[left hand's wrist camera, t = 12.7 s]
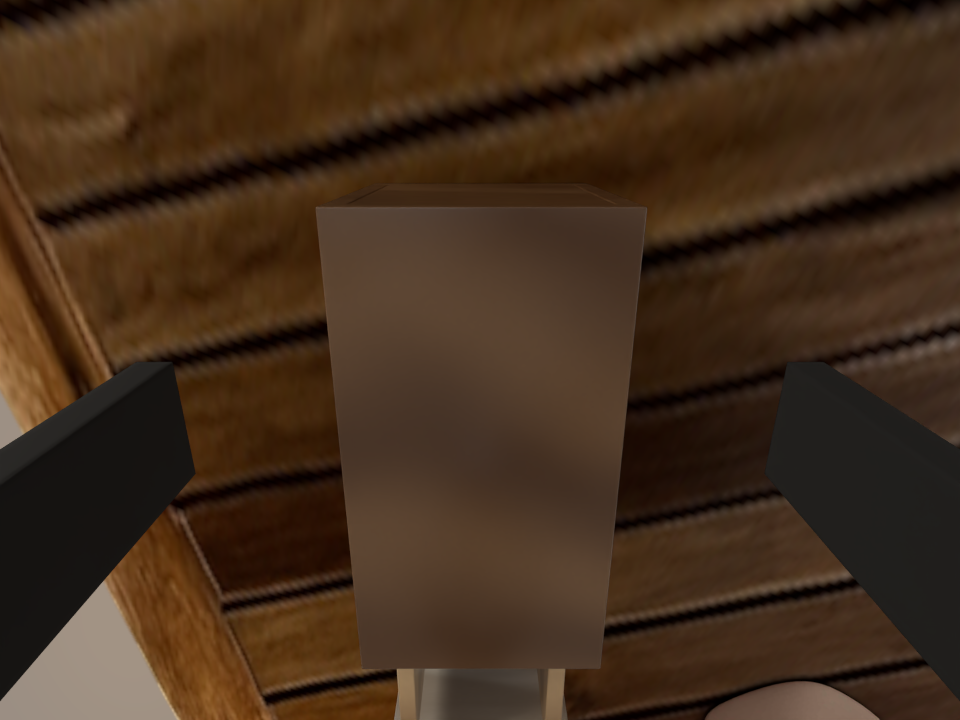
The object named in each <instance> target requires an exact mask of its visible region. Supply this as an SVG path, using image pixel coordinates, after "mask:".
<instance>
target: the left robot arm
mask: <svg viewBox="0 0 960 720" xmlns="http://www.w3.org/2000/svg"><path fill="white" fill-rule="evenodd" d="M194 475H195V469H194V464H193V459H192V454H191V449H190V445H189V440H188V435H187V430H186V425H185V420H184V416H183V411H182V406H181V401H180V396H179V391H178V387H177V382H176V377H175V372H174V367H173V362H136V363H134V364H133V365H131V366H130V367H128V368H127V369H125V370H123V371H122V372H120V373H119V374H117V375H116V376H114V377H113V378H111V379H109V380H108V381H106V382H105V383H103V384H102V385H100V386H98V387H97V388H95V389H94V390H92V391H91V392H89V393H88V394H86V395H84V396H83V397H81V398H80V399H78V400H77V401H75V402H73V403H72V404H70V405H69V406H67V407H66V408H64V409H62V410H61V411H59V412H58V413H56V414H55V415H53V416H52V417H50V418H48V419H47V420H45V421H44V422H42V423H41V424H39V425H37V426H36V427H34V428H33V429H31V430H30V431H28V432H27V433H25V434H23V435H22V436H20V437H19V438H17V439H16V440H14V441H12V442H11V443H9V444H8V445H6V446H5V447H3V448H2V449H0V701H1V699H2V698H3V697H4V696H5V695H6V694H7V692H8V691H9V690H10V689H11V688H12V687H13V685H14V684H15V683H16V682H17V681H18V680H19V679H20V677H21V676H22V675H23V674H24V673H25V672H26V670H27V669H28V668H29V667H30V666H31V665H32V663H33V662H34V661H35V660H36V659H37V658H38V656H39V655H40V654H41V653H42V652H43V651H44V649H45V648H46V647H47V646H48V645H49V644H50V642H51V641H52V640H53V639H54V638H55V637H56V635H57V634H58V633H59V632H60V631H61V630H62V628H63V627H64V626H65V625H66V624H67V623H68V621H69V620H70V619H71V618H72V617H73V616H74V614H75V613H76V612H77V611H78V610H79V609H80V607H81V606H82V605H83V604H84V603H85V602H86V601H87V599H88V598H89V597H90V596H91V595H92V594H93V592H94V591H95V590H96V589H97V588H98V587H99V585H100V584H101V583H102V582H103V581H104V580H105V578H106V577H107V576H108V575H109V574H110V573H111V571H112V570H113V569H114V568H115V567H116V566H117V564H118V563H119V562H120V561H121V560H122V559H123V557H124V556H125V555H126V554H127V553H128V552H129V550H130V549H131V548H132V547H133V546H134V545H135V543H136V542H137V541H138V540H139V539H140V538H141V536H142V535H143V534H144V533H145V532H146V531H147V529H148V528H149V527H150V526H151V525H152V524H153V523H154V521H155V520H156V519H157V518H158V517H159V516H160V514H161V513H162V512H163V511H164V510H165V509H166V507H167V506H168V505H169V504H170V503H171V502H172V500H173V499H174V498H175V497H176V496H177V495H178V493H179V492H180V491H181V490H182V489H183V488H184V486H185V485H186V484H187V483H188V482H189V481H190V479H191V478H192V477H193V476H194ZM765 475H766V476H767V477H768V478H769V479H770V481H771V482H772V483H773V484H774V485H775V486H776V488H777V489H778V490H779V491H780V492H781V493H782V495H783V496H784V497H785V498H786V499H787V500H788V502H789V503H790V504H791V505H792V506H793V507H794V509H795V510H796V511H797V512H798V513H799V514H800V516H801V517H802V518H803V519H804V520H805V521H806V523H807V524H808V525H809V526H810V527H811V528H812V529H813V531H814V532H815V533H816V534H817V535H818V536H819V538H820V539H821V540H822V541H823V542H824V543H825V545H826V546H827V547H828V548H829V549H830V550H831V552H832V553H833V554H834V555H835V556H836V557H837V559H838V560H839V561H840V562H841V563H842V564H843V566H844V567H845V568H846V569H847V570H848V571H849V573H850V574H851V575H852V576H853V577H854V578H855V580H856V581H857V582H858V583H859V584H860V585H861V587H862V588H863V589H864V590H865V591H866V592H867V594H868V595H869V596H870V597H871V598H872V599H873V601H874V602H875V603H876V604H877V605H878V606H879V608H880V609H881V610H882V611H883V612H884V613H885V614H886V616H887V617H888V618H889V619H890V620H891V621H892V623H893V624H894V625H895V626H896V627H897V628H898V630H899V631H900V632H901V633H902V634H903V635H904V637H905V638H906V639H907V640H908V641H909V642H910V644H911V645H912V646H913V647H914V648H915V649H916V651H917V652H918V653H919V654H920V655H921V656H922V658H923V659H924V660H925V661H926V662H927V663H928V665H929V666H930V667H931V668H932V669H933V670H934V672H935V673H936V674H937V675H938V676H939V677H940V679H941V680H942V681H943V682H944V683H945V684H946V686H947V687H948V688H949V689H950V690H951V691H952V693H953V694H954V695H955V696H956V697H957V698H958V699H959V701H960V449H958V448H957V447H955V446H954V445H952V444H951V443H949V442H948V441H946V440H944V439H943V438H941V437H940V436H938V435H937V434H935V433H933V432H932V431H930V430H929V429H927V428H926V427H924V426H922V425H921V424H919V423H918V422H916V421H915V420H913V419H912V418H910V417H908V416H907V415H905V414H904V413H902V412H901V411H899V410H897V409H896V408H894V407H893V406H891V405H890V404H888V403H887V402H885V401H883V400H882V399H880V398H879V397H877V396H876V395H874V394H872V393H871V392H869V391H868V390H866V389H865V388H863V387H862V386H860V385H858V384H857V383H855V382H854V381H852V380H851V379H849V378H847V377H846V376H844V375H843V374H841V373H840V372H838V371H837V370H835V369H833V368H832V367H830V366H829V365H827V364H826V363H824V362H787V367H786V372H785V377H784V382H783V387H782V391H781V396H780V401H779V406H778V411H777V416H776V420H775V425H774V430H773V435H772V440H771V445H770V449H769V454H768V459H767V464H766V469H765Z"/></svg>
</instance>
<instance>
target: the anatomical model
mask: <svg viewBox="0 0 960 720" xmlns="http://www.w3.org/2000/svg"><path fill="white" fill-rule="evenodd" d="M705 720H880V719H879V718H878V717H876V716H875V715H874V714H873V713H872V712H870V711H869V710H868V709H866V708H865V707H864V706H862V705H861V704H859V703H858V702H856V701H855V700H853V699H852V698H850V697H848V696H847V695H845V694H843V693H841V692H839V691H837V690H835V689H833V688H831V687H829V686H826V685H823V684H820V683H815V682H808V681H793V682H785V683H780V684H775V685H771V686H767V687H763V688H760V689H757V690H754V691H751V692H748V693H745V694H743V695H740V696H737V697H735V698H732V699H730V700H728V701H726V702H724V703H722V704H719V705H718V706H716V707H715V708H713V709H712V710H711V711H710V712H709V713H708V714H707V716H706V718H705Z"/></svg>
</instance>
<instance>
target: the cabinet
mask: <svg viewBox="0 0 960 720" xmlns="http://www.w3.org/2000/svg"><path fill="white" fill-rule="evenodd" d="M646 215H647V207H646V206H643V205H640V204H638V203H635V202H633V201H630V200H627V199H625V198H622V197H620V196H617V195H615V194H612V193H610V192H607V191H605V190H602V189H600V188H597V187H594V186H592V185H589V184H587V183H502V184H373V185H370V186H368V187H365V188H363V189H360V190H358V191H355V192H353V193H350V194H348V195H345V196H343V197H340V198H338V199H335V200H333V201H331V202H328V203H326V204H322V205H320V206H317V207H316V217H317V227H318V237H319V247H320V257H321V266H322V276H323V286H324V296H325V306H326V316H327V326H328V336H329V346H330V356H331V366H332V376H333V386H334V396H335V405H336V415H337V425H338V435H339V445H340V455H341V465H342V475H343V485H344V495H345V505H346V515H347V525H348V534H349V544H350V554H351V564H352V574H353V584H354V594H355V604H356V614H357V624H358V634H359V644H360V654H361V664H362V669H600V665H601V655H602V646H603V636H604V626H605V616H606V606H607V597H608V587H609V577H610V567H611V557H612V548H613V538H614V528H615V518H616V508H617V499H618V489H619V479H620V469H621V459H622V450H623V440H624V430H625V420H626V411H627V401H628V391H629V381H630V371H631V362H632V352H633V342H634V332H635V322H636V313H637V303H638V293H639V283H640V273H641V264H642V254H643V244H644V234H645V224H646Z"/></svg>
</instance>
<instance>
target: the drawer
mask: <svg viewBox="0 0 960 720" xmlns="http://www.w3.org/2000/svg"><path fill="white" fill-rule="evenodd" d="M397 677H398V698H397V704H396V711H395V718H394V720H568V719H567V713H566V706H565V699H564V693H563V692H564V679H565V669H397Z"/></svg>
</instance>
